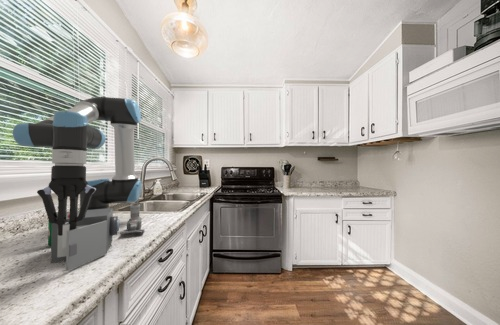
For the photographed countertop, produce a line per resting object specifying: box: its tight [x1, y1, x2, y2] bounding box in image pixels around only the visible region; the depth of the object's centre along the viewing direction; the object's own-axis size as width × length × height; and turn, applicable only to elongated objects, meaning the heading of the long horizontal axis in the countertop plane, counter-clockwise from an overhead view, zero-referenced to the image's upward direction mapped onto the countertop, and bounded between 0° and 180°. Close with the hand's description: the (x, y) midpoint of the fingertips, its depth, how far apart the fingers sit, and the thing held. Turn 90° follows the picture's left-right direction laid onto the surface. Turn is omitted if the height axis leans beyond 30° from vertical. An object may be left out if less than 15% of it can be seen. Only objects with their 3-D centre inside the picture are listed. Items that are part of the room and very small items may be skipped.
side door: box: [65, 220, 108, 272], centre depth 61 cm, size 2×12×11 cm, turn 165°
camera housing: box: [50, 207, 120, 264], centre depth 71 cm, size 14×16×14 cm
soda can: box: [47, 211, 58, 247], centre depth 76 cm, size 5×5×12 cm
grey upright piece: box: [119, 203, 145, 235], centre depth 90 cm, size 9×12×15 cm
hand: (66, 245), depth 58 cm, fingers closed
